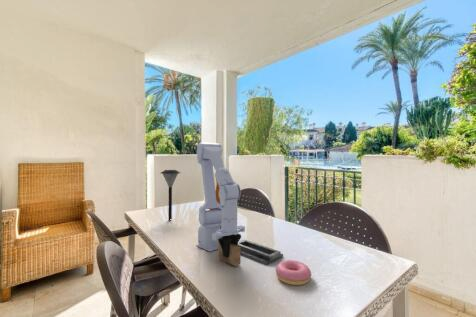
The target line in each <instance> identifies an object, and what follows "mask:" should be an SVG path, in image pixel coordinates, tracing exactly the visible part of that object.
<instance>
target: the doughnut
mask: <svg viewBox="0 0 476 317" xmlns="http://www.w3.org/2000/svg"><path fill="white" fill-rule="evenodd" d="M275 273H276V276H277V278H278V279H279V280H280V281H281V282H283V283H285V284H286V285H291V286H302V285H305V284H307V283H308V282H309V281H310V279H311V277H312V272H311V269H310V268H309V266H308V265H307V264H305V263H303V262H300V261H298V260H291V259H290V260H289V259H288V260H283V261H280V262H278V264H276V268H275Z"/></svg>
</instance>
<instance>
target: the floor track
mask: <svg viewBox="0 0 476 317" xmlns="http://www.w3.org/2000/svg"><path fill="white" fill-rule="evenodd" d="M237 246H239V247H241V249H240V256H243V257H245V258H248V259H250V260H253V261H255V262H258V263H261V264H262V265H265V266H268V265H271V264H273V263H275V262H277V261H278V260H280V259H283V257H284V253H281V251H279V250H277V249H274V248H271V247H268V246H265V245H262V244H259V243H256V242H253V241H250V240H247V239H243V240H239V242H238V244H237Z"/></svg>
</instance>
